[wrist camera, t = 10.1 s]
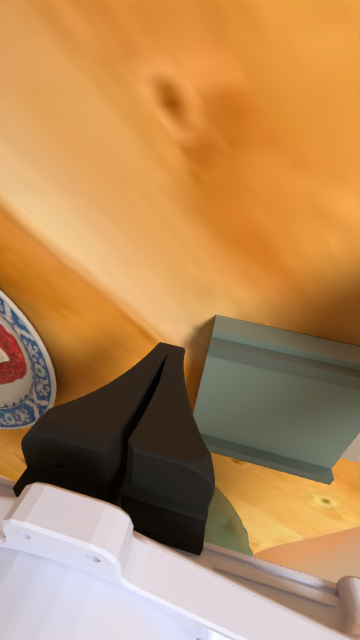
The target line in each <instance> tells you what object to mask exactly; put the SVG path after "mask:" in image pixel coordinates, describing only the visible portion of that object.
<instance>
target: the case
mask: <svg viewBox="0 0 360 640" xmlns="http://www.w3.org/2000/svg"><path fill="white" fill-rule="evenodd" d="M193 416H194V418H195V421H196V424H197V426H198V429H199V431H200V434H201V436H202V438H203V440H204V442H205V444H206V446H207V448H208V450H209V452H213V453H216V454H220V455H224V456H227V457H231V458H234V459H238V460H242V461H245V462H249V463H252V464H256V465H260V466H263V467H267V468H270V469H274V470H278V471H281V472H285V473H288V474H292V475H296V476H299V477H303V478H306V479H310V480H314V481H317V482H321V483H324V484H328V485H330V484H331V483H332V481H333V480H334V477H333V474H332V470H331V469H332V467H333V466H334V465H335V463H336V462H337V461H338V460H339V458H340V457H341V456H342V454H343V453H344V452H345V451H346V449H347V448H348V447H349V446H350V444H351V443H352V442H353V440H354V439H355V438H356V437H357V435H358V434H359V433H360V346H356V345H351V344H346V343H342V342H337V341H333V340H328V339H324V338H319V337H315V336H310V335H306V334H301V333H297V332H292V331H287V330H283V329H278V328H274V327H269V326H265V325H260V324H256V323H251V322H247V321H242V320H238V319H233V318H229V317H224V316H219V315H216V318H215V322H214V326H213V330H212V334H211V339H210V343H209V347H208V351H207V355H206V360H205V364H204V368H203V372H202V376H201V380H200V385H199V389H198V393H197V397H196V401H195V406H194V410H193Z"/></svg>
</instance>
